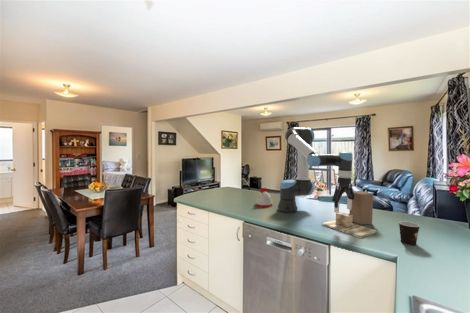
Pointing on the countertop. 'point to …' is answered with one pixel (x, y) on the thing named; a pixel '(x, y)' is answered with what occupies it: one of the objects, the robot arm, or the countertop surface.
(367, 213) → the block
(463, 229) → the countertop surface
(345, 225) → the block
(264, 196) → the kitchen timer
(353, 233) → the board
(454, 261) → the countertop surface
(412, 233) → the coffee mug
